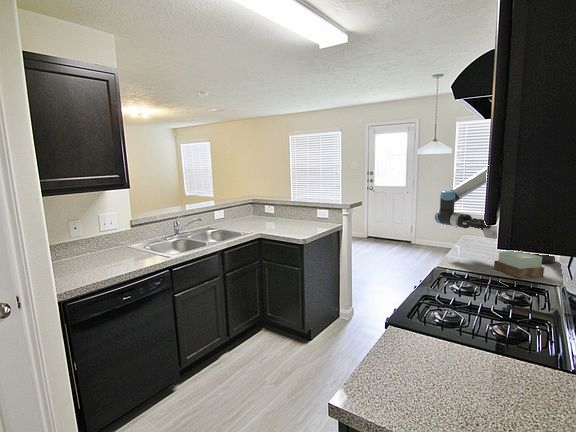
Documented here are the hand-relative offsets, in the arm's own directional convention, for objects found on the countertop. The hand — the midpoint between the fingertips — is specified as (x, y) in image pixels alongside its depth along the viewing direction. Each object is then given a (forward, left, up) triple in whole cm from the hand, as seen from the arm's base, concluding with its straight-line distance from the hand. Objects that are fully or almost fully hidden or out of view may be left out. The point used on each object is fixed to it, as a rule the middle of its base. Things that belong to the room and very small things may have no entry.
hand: (503, 227), depth 157 cm
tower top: (-7, +4, -18) cm, 20 cm away
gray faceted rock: (+2, -4, -6) cm, 8 cm away
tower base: (-7, +3, -23) cm, 24 cm away
